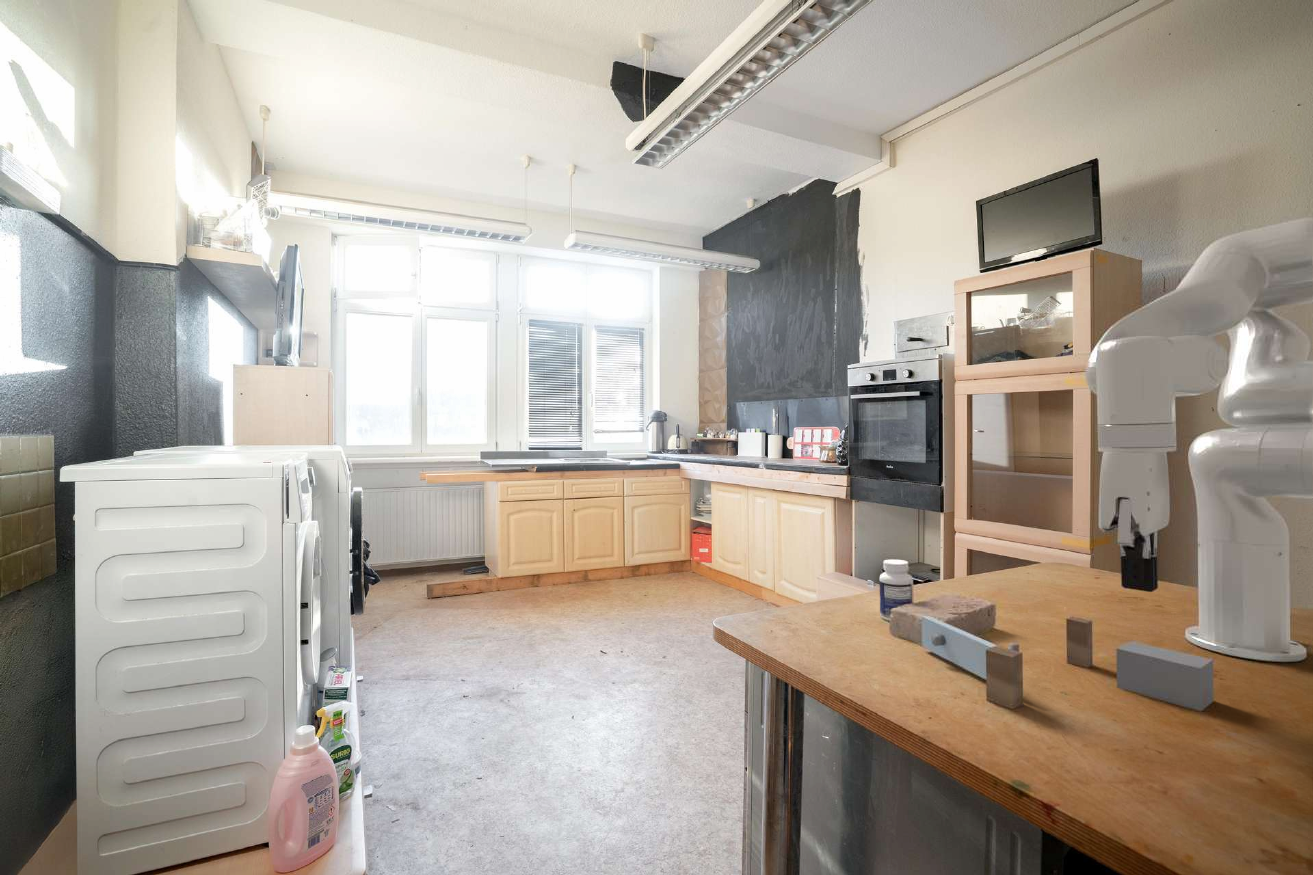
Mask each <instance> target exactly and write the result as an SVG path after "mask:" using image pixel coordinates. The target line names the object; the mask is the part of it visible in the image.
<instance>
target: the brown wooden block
mask: <svg viewBox="0 0 1313 875" xmlns="http://www.w3.org/2000/svg"><path fill="white" fill-rule="evenodd" d="M1023 657H1024V656H1023V652H1022V651H1019V652H1018V651H1015V650H1011V649H1009V648H1007V647H1004V646H999V645H997V646H994V647H991V648H989V649H986V679H985V680H986V681H985V683H986V684H985V686H986V687H985V690H986V695H985V696H986V701H989V702H991V703H994V704H996V705H1000V706H1002V707H1005V708H1008V709H1011V710H1015V709H1016V708H1018V707H1020V706H1022V705H1023V704H1024V675H1023V674H1024V673H1023V671H1024V668H1023V667H1024V665H1023V663H1024V662H1023V660H1024V659H1023Z"/></svg>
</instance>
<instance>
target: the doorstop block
mask: <svg viewBox="0 0 1313 875" xmlns="http://www.w3.org/2000/svg"><path fill="white" fill-rule="evenodd" d="M1214 684H1215V682H1214V659H1212V658H1207V657H1203V656H1199V655H1193V654H1190V653H1185V652H1182V651H1181V652H1180V651H1177V650H1173V649H1168V648H1163V647H1159V646H1155V645H1150V644H1147V643H1141V642H1137V641H1132V640H1129V641H1128V642H1125V643H1124V644H1122V645H1121V646H1119V647H1117V648H1116V688H1117V689H1119V690H1123V691H1128V692H1132V693H1135V694H1138V695H1141V696H1145V697H1149V698H1152V699H1156V700H1160V701H1163V702H1166V701H1167V703H1170V704H1173V705H1176V706H1177V705H1178V706H1180V707H1184V708H1188V709H1192V710H1195V711H1197V712H1202V711H1203V710H1205V709H1206V708H1207V707H1209V704H1210V705H1211V704H1212V703H1213V702H1214V701H1215V696H1214V695H1215V694H1214V693H1215V690H1214V686H1215V685H1214ZM1204 708H1205V709H1204Z"/></svg>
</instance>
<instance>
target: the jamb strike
mask: <svg viewBox="0 0 1313 875" xmlns="http://www.w3.org/2000/svg"><path fill="white" fill-rule="evenodd" d="M1065 622H1066V629H1065V630H1066V663H1068V664H1072V665H1075V666H1079V667H1083V668H1089V667H1091V666H1093V665H1094V664H1093V661H1094V660H1093V620H1092V619H1091V620H1090V619H1086V618H1081V617H1077V616H1069V617H1067V618H1065Z"/></svg>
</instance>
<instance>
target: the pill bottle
mask: <svg viewBox="0 0 1313 875" xmlns="http://www.w3.org/2000/svg"><path fill="white" fill-rule="evenodd" d="M882 566H883V570H884V572H882V573H881V574H880V575H879V615H880V618H881V619H883V620H884V621H887V622H890V615H891V609H893V608H897V607H899V606H903V605H905V604H910V603H914V579H913V577H912V575H911V574H910V573H908V572H909V569H910V568H909V561H907V560H904V559H885V560H883V565H882Z"/></svg>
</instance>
